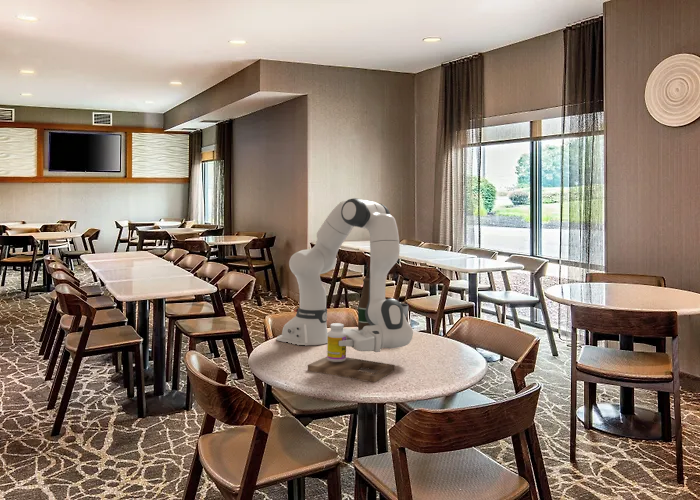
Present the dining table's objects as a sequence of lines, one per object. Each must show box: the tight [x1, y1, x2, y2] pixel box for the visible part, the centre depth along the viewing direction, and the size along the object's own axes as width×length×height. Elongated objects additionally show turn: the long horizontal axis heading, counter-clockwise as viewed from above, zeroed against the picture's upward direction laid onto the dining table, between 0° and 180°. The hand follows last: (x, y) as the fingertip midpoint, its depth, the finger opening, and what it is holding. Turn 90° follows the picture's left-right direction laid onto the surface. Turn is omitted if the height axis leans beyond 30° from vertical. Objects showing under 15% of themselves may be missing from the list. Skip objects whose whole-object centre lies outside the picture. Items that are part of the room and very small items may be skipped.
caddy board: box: [307, 356, 396, 383], centre depth 213 cm, size 26×16×2 cm, turn 62°
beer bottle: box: [357, 277, 371, 330], centre depth 275 cm, size 8×8×24 cm
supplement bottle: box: [326, 322, 347, 362], centre depth 215 cm, size 7×7×13 cm
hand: (334, 340), depth 214 cm, fingers closed on supplement bottle, 6 cm apart
